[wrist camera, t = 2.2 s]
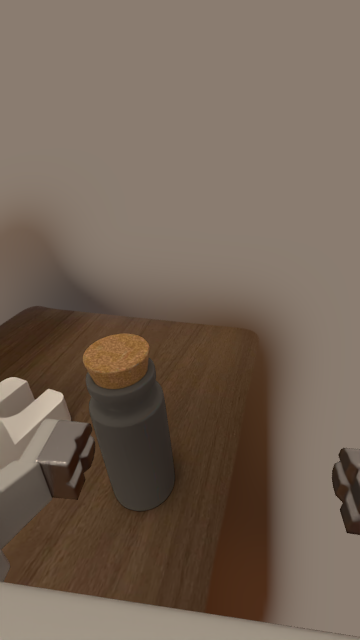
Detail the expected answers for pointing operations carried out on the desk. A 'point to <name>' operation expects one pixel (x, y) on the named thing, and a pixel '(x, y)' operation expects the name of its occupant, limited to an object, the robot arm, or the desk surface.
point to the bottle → (130, 420)
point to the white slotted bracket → (24, 416)
